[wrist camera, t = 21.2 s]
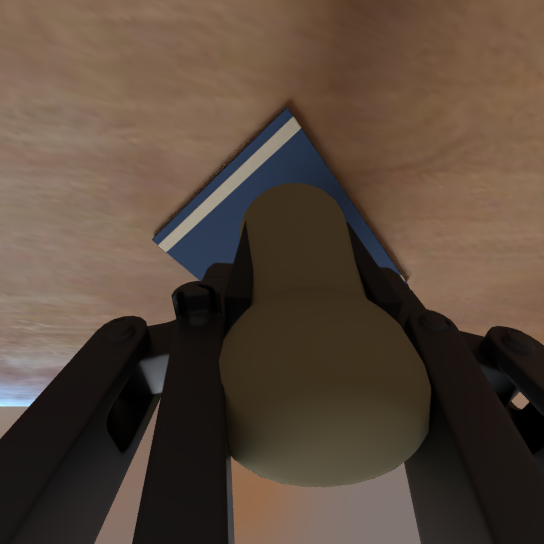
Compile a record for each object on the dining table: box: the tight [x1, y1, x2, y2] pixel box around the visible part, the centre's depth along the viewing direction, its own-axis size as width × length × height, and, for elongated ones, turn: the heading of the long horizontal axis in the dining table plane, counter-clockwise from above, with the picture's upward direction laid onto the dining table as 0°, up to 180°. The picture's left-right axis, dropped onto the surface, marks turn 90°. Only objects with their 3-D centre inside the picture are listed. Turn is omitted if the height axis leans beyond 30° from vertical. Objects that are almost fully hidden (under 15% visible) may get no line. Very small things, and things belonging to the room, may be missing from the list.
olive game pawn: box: [219, 183, 431, 487], centre depth 10 cm, size 6×6×11 cm
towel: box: [152, 108, 408, 285], centre depth 25 cm, size 20×16×1 cm
